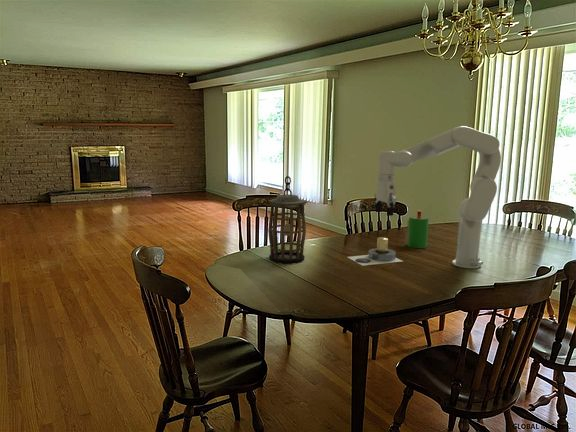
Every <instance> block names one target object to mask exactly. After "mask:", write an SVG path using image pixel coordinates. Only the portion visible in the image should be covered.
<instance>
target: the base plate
mask: <svg viewBox="0 0 576 432" xmlns="http://www.w3.org/2000/svg"><path fill="white" fill-rule="evenodd" d="M347 258H348V259H349V260H351V261H353V262H355V263H356V264H359V265H360V266H364V267H365V266H370V265H371V266H372V265H381V264H383V265H384V264H390V263H401V262H403V260H401V259H399V258H397V257H395V260H393V261H376V260H372V259H370V258H369V257H368V254H366V255H365V254H364V255H354V256H347Z"/></svg>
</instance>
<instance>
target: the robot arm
mask: <svg viewBox="0 0 576 432" xmlns="http://www.w3.org/2000/svg"><path fill="white" fill-rule="evenodd" d="M459 147H462V148H465V149H468V150H471V151H474V152H477V153H478V154H479V163H478V166H477V168H476V170H475V173H474V176H473V178H472V180H471V182H470V185H469V189H470V191H471V193H470V196H469V197H466V198H465V199H463V200H462V201H461V203H460V204H459V208H458V231H457V244H456V253H455V255H456V256H455V259H453V260H452V263H451V264H452V265H453V266H455V267H458V268H463V269H480V268H481V267H482V265H484V262H483V261H481V259H480V257H479V251H480V243H481V241H480V240H481V233H482V221H483V220H484V219H485V218H486V217H487V215H488V213H489V211H490V209H491V207H492V204H493V202H494V199H495V197H496V194H497V192H498V191H497V190H498V186H497V183H496V181H495V179H496V178H497V175H498V172H499V169H500V166H501V163H502V155H501V151H500V141H499V139H498V137H496V136H495V135H493V134H490V133H487V132H483V131H481V130H477V129H475V128H472V127H468V126H466V125H461V126H460V125H459V126H456V127H453V128H452V129H449V130H446V131H443V132H442V133H439V134H437V135H434V136H432V137H430V138H427V139H425V140H423V141H422V142H419V143H416V144H414V145H412V146H410V147H407V148H404V149H402V150H400V151H393V150H382V151H380V152H379V155H378V171H377V185H376V191H375V193H374V200H375V202H374V204H375V213H382V212H383V203H386V206H387V207H386V216H387V217H390V216H392V217H393V216H394V208H395V205H396V202H397V197H396V193H397V192H396V182H395V173H396V168H397V167H398V168H402V169H407V168H409V167H410V166H411V165H412V164H413V163H417V162H418V161H421V160H424V159H428V158H432V157H437V156H440V155H442V154H444V153H447V152H449V151H451V150H454V149H456V148H459ZM479 267H480V268H479Z"/></svg>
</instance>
